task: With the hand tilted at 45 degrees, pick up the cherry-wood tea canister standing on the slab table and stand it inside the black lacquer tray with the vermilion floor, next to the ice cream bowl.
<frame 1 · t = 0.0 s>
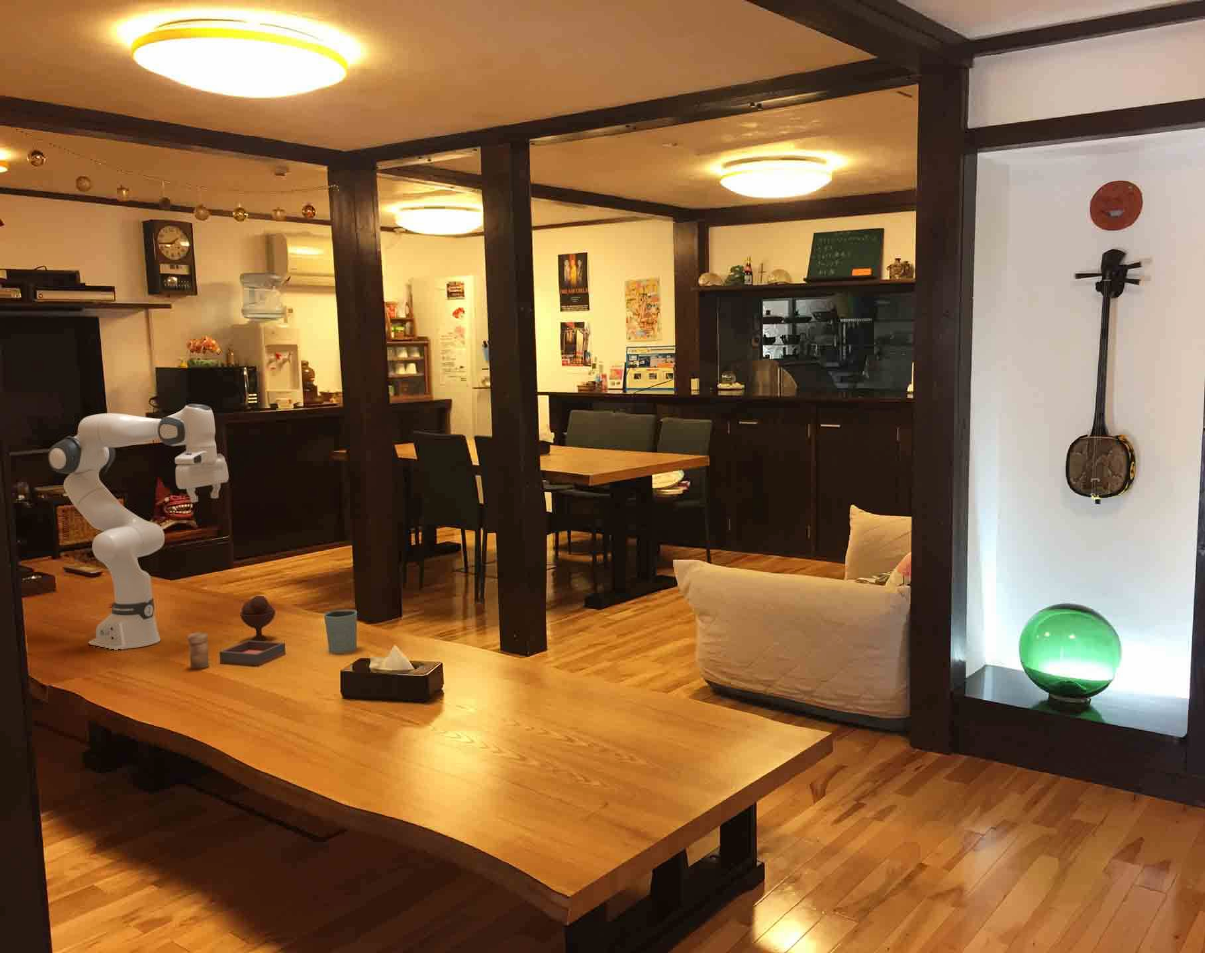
hand: (204, 500, 324), 48 cm above the table, tool pointing down, fingers open, 8 cm apart
ice cream bowl: (259, 640, 339), on the table
tea canister: (199, 667, 309), on the table
lacquer tray: (253, 658, 317), on the table
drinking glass: (342, 650, 324), on the table
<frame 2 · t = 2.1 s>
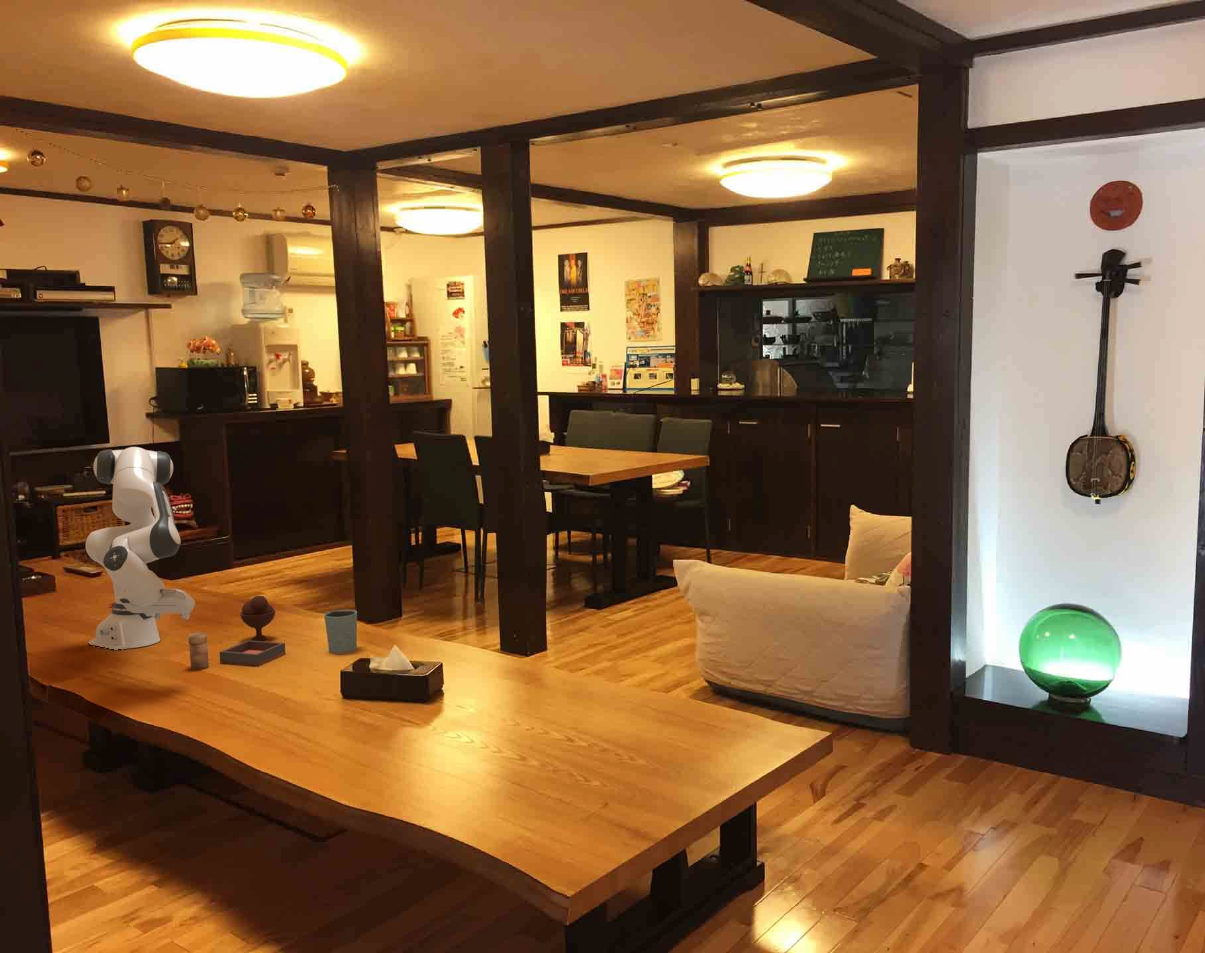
hand: (173, 617, 296), 18 cm above the table, tool tilted 45°, fingers open, 8 cm apart
nothing on the table moved.
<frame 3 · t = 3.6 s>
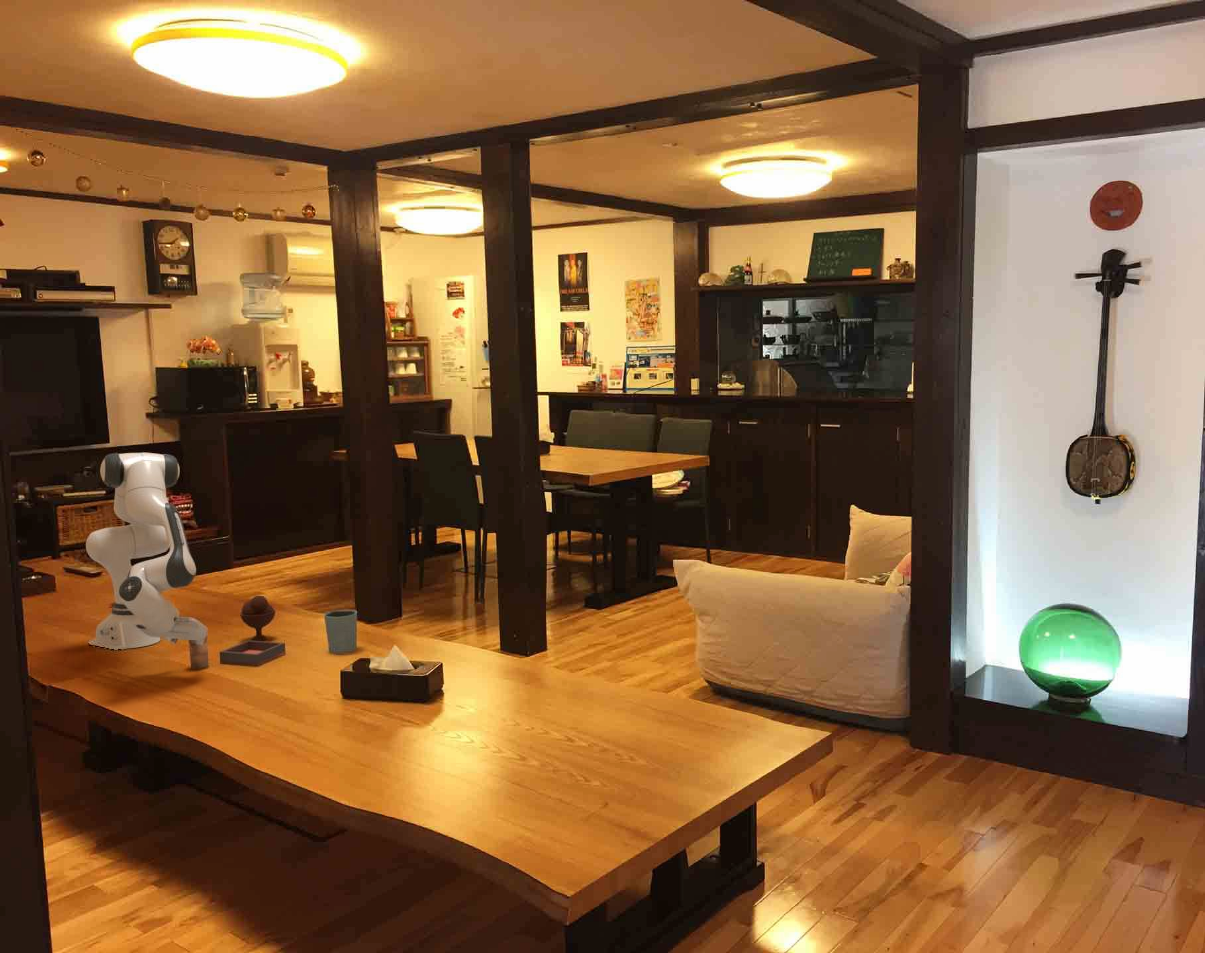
hand: (188, 641, 304), 9 cm above the table, tool tilted 45°, fingers open, 8 cm apart
nothing on the table moved.
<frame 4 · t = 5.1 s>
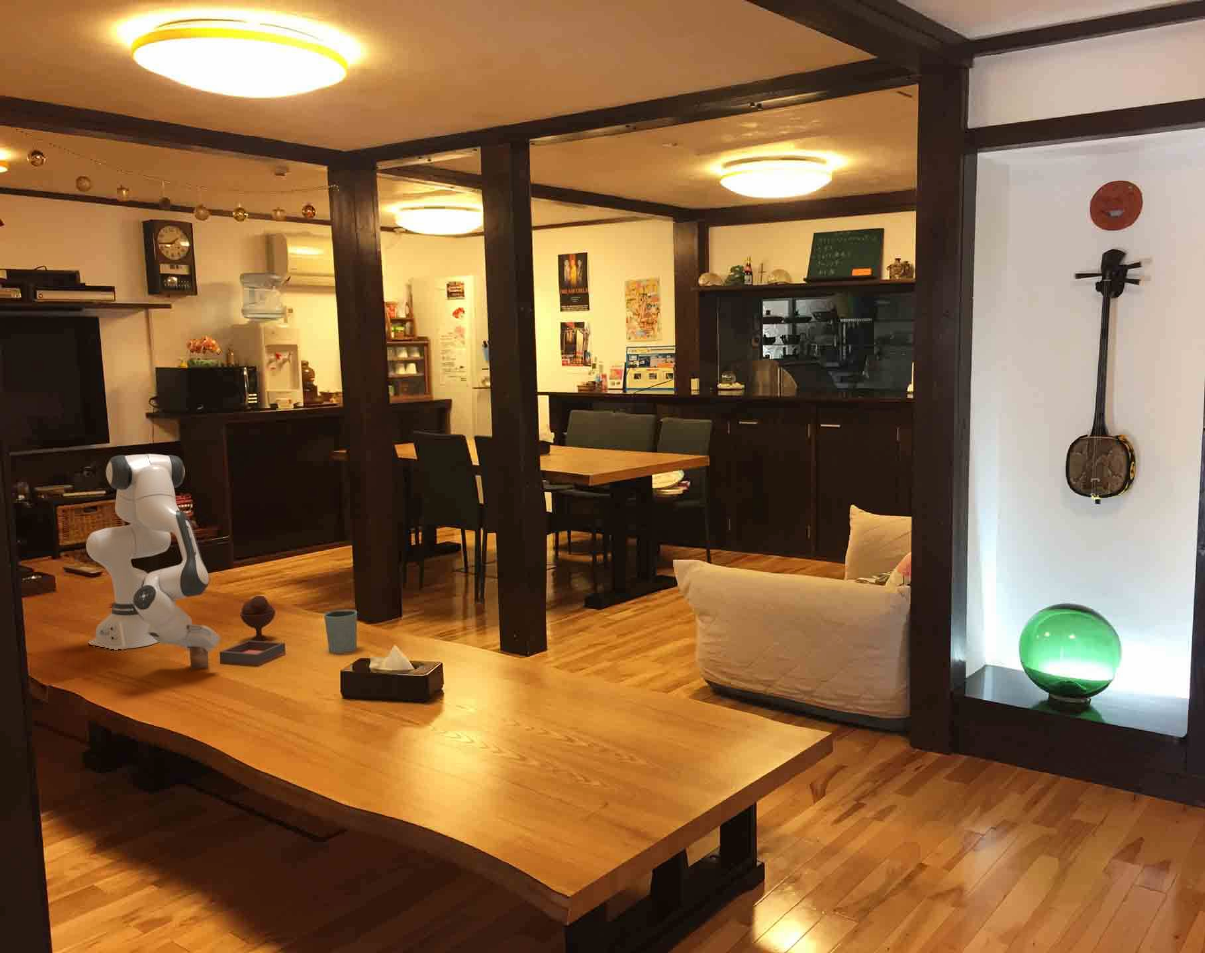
hand: (200, 649, 309), 5 cm above the table, tool tilted 45°, fingers closed on tea canister, 5 cm apart
tea canister: (199, 667, 309), on the table, touching gripper
everything else where it was.
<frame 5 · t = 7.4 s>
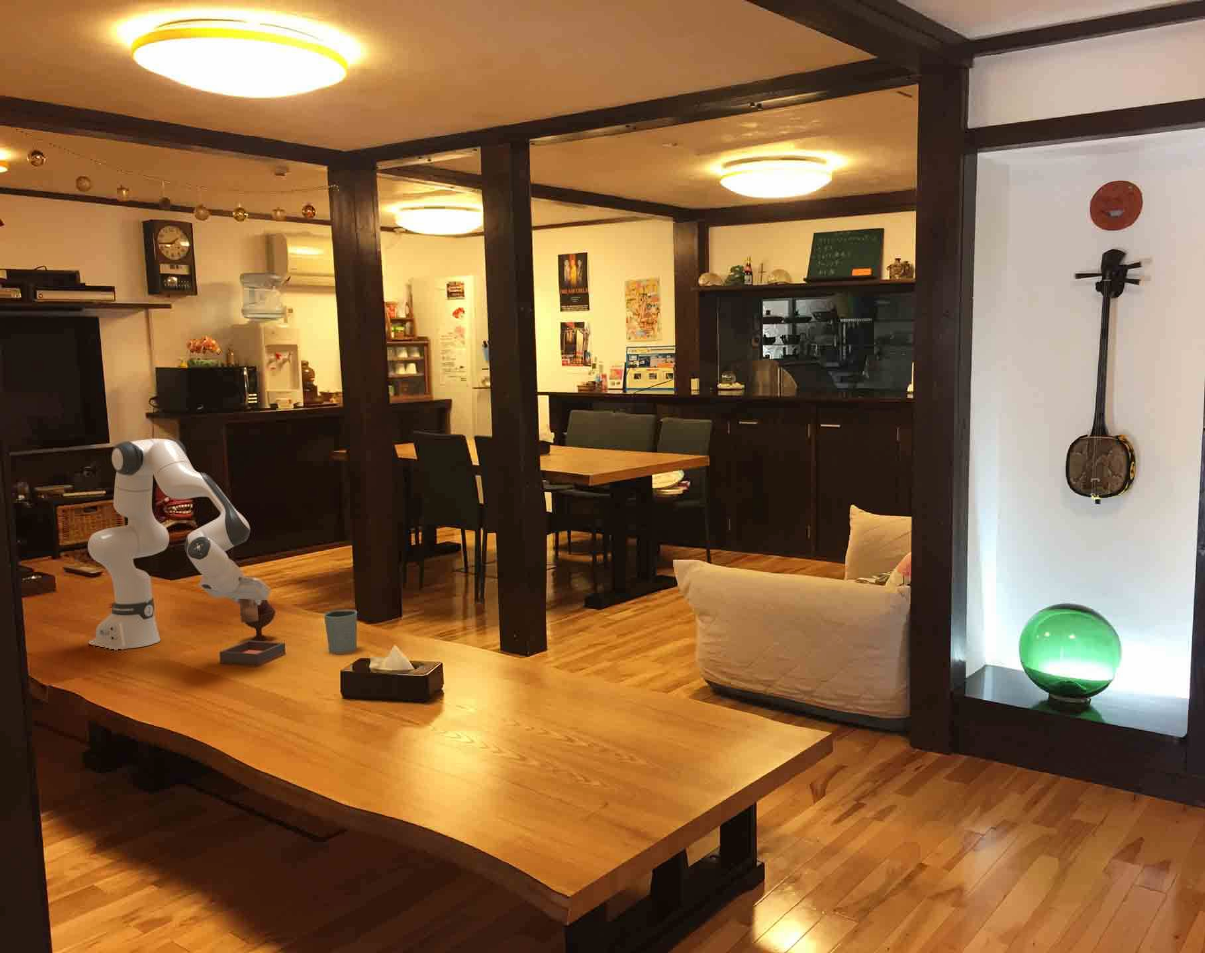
hand: (249, 602, 315), 18 cm above the table, tool tilted 45°, fingers closed on tea canister, 5 cm apart
tea canister: (249, 620, 315), point 12 cm above the table, touching gripper
everything else where it was.
when the fingers open (7 cm above the table, at t = 9.8 s): tea canister stays where it is, resting on lacquer tray.
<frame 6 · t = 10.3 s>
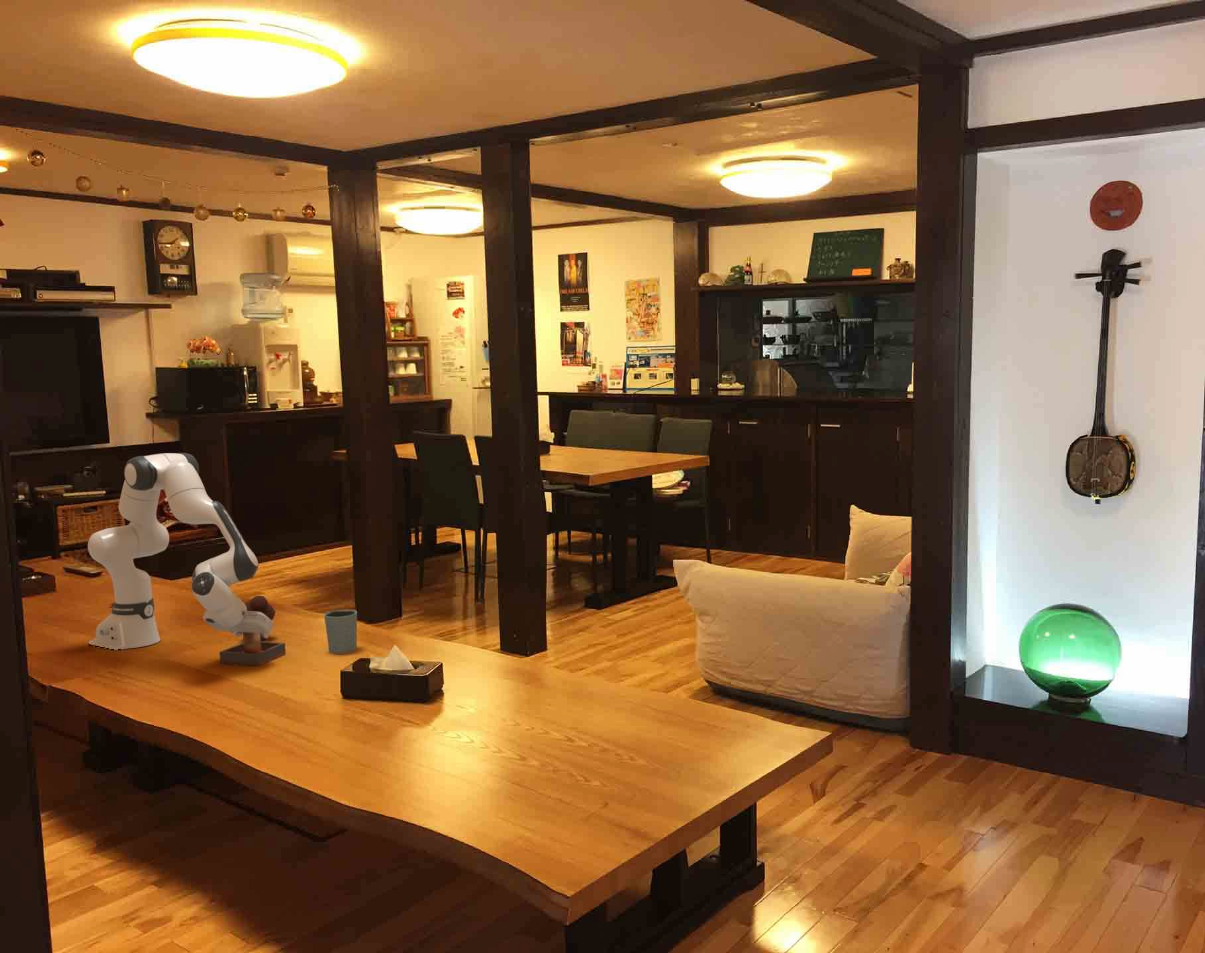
hand: (253, 635, 317), 7 cm above the table, tool tilted 45°, fingers open, 8 cm apart
tea canister: (252, 655, 317), point 1 cm above the table, touching lacquer tray
everything else where it was.
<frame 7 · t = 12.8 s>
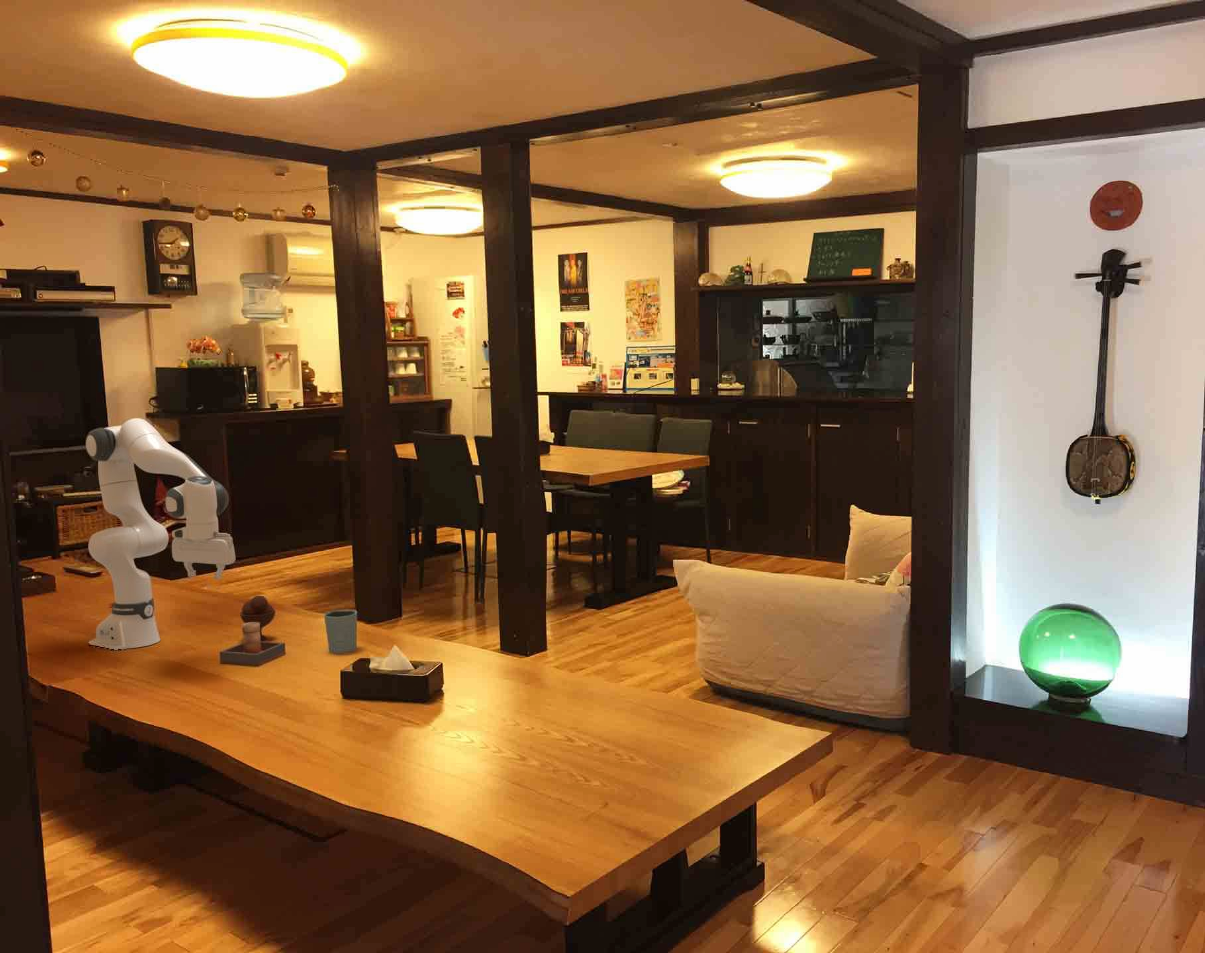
hand: (205, 577, 306), 27 cm above the table, tool pointing down, fingers open, 8 cm apart
nothing on the table moved.
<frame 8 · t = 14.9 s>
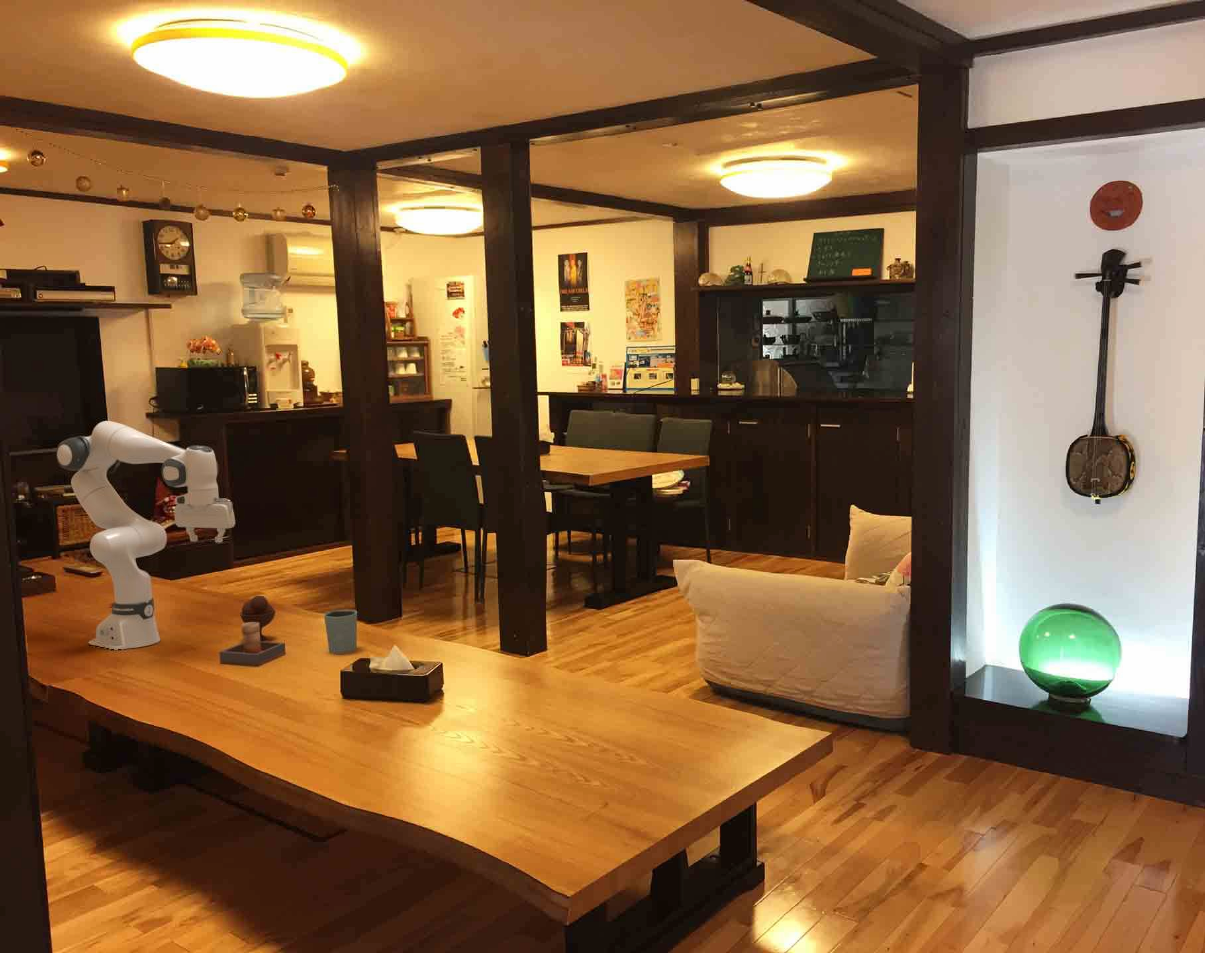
hand: (206, 541, 323), 35 cm above the table, tool pointing down, fingers open, 8 cm apart
nothing on the table moved.
at the end: tea canister inside the target area on the lacquer tray (0.1 cm from its centre), point 0.8 cm above the lacquer tray's base; tea canister tilted 1°; the gripper is holding nothing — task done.
